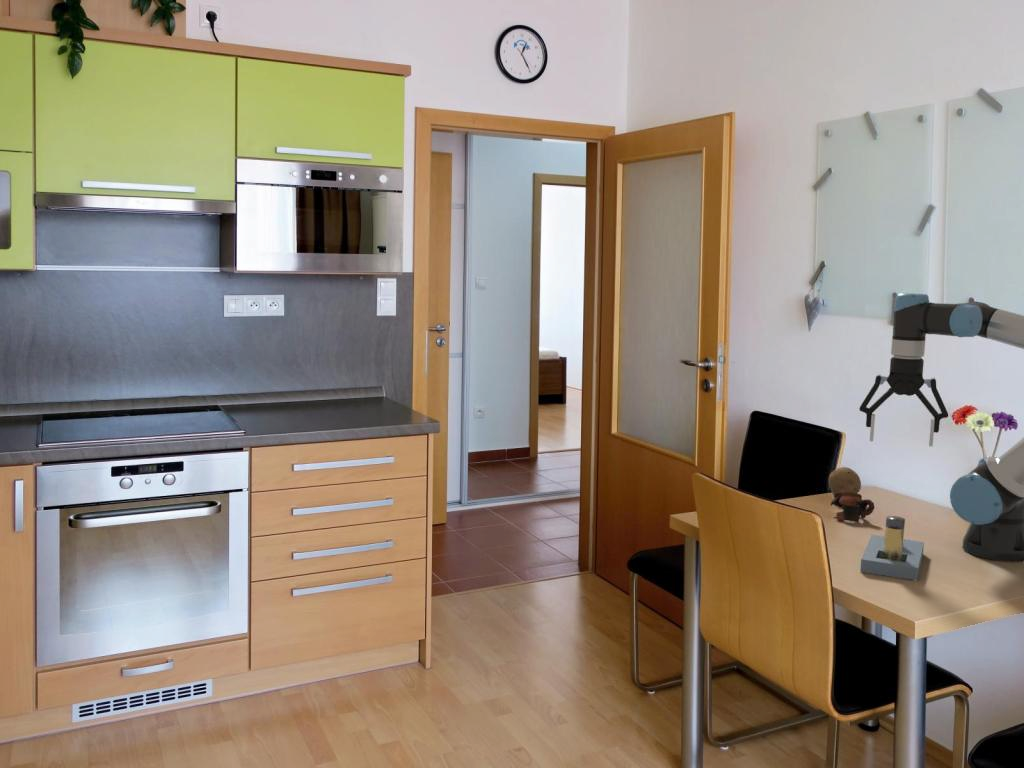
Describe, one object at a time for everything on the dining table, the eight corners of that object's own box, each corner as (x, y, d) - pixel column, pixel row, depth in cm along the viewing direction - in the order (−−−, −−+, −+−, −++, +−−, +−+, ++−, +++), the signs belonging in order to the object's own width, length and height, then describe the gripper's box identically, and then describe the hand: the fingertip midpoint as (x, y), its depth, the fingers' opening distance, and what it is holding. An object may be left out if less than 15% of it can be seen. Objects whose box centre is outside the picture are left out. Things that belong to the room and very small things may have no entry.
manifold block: (923, 554, 241) (924, 542, 240) (916, 580, 221) (918, 567, 221) (870, 546, 246) (871, 534, 245) (860, 571, 226) (861, 559, 226)
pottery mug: (825, 520, 270) (825, 491, 273) (838, 530, 276) (838, 501, 279) (869, 518, 262) (869, 488, 265) (882, 527, 269) (881, 498, 272)
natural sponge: (843, 495, 295) (845, 462, 294) (866, 503, 288) (869, 469, 286) (820, 498, 291) (823, 465, 290) (843, 506, 283) (846, 472, 282)
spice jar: (901, 567, 230) (905, 517, 228) (899, 572, 226) (904, 521, 225) (882, 565, 232) (887, 515, 230) (881, 569, 228) (885, 519, 226)
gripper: (962, 358, 240) (955, 444, 243) (853, 352, 250) (848, 435, 252) (964, 361, 234) (956, 450, 236) (852, 355, 243) (846, 440, 246)
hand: (900, 443), depth 244 cm, fingers open, 13 cm apart
